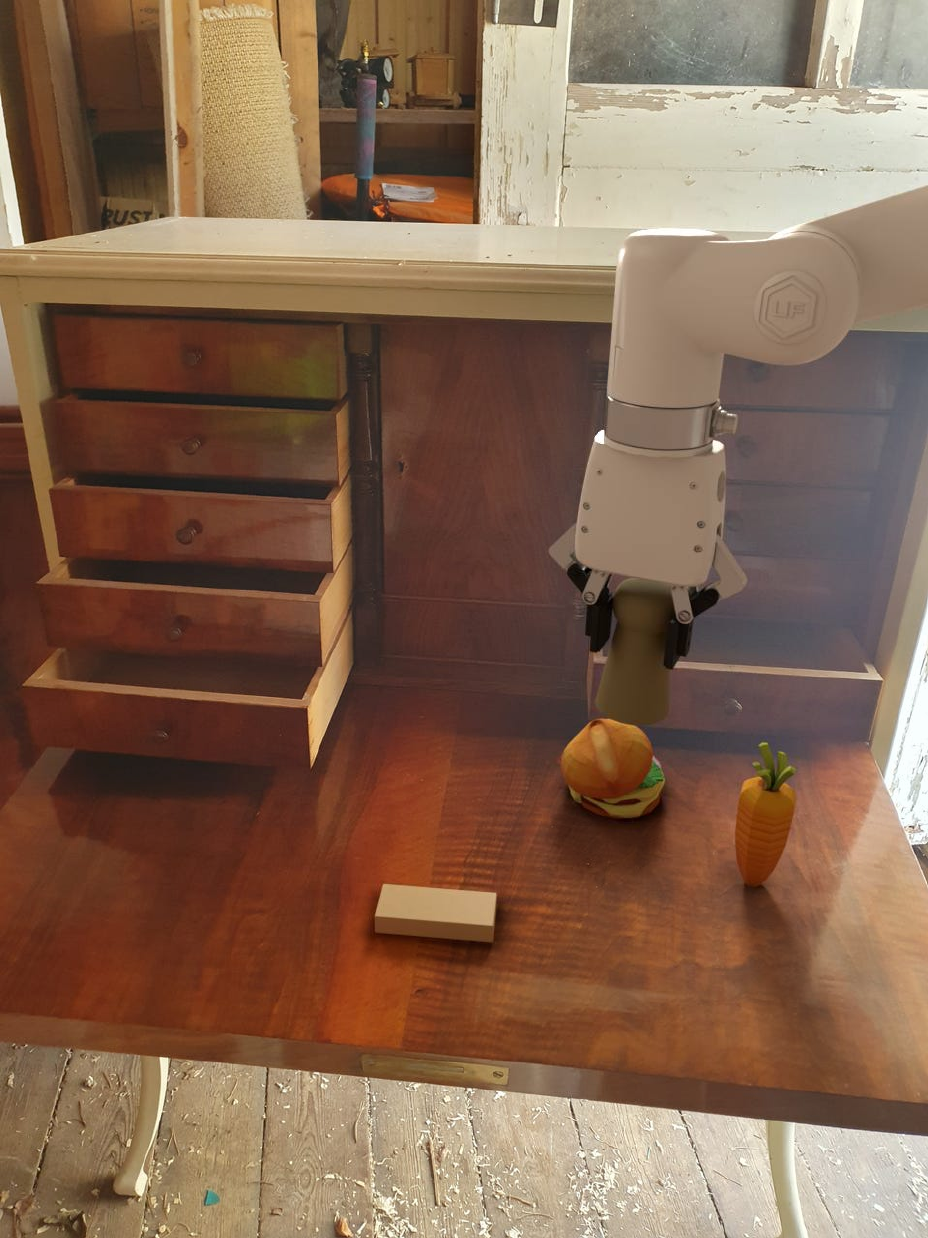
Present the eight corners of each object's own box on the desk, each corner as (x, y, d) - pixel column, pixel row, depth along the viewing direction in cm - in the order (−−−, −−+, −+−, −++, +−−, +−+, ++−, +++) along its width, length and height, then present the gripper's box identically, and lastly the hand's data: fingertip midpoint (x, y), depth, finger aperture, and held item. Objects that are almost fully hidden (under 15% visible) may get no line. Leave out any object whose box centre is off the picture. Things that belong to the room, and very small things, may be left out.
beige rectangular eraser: (496, 914, 85) (496, 892, 83) (492, 948, 81) (493, 926, 80) (383, 905, 85) (383, 883, 84) (375, 938, 82) (374, 916, 81)
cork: (594, 721, 76) (609, 596, 71) (595, 682, 82) (609, 564, 77) (671, 729, 76) (692, 604, 71) (667, 689, 81) (685, 570, 76)
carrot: (786, 907, 86) (815, 767, 79) (731, 906, 86) (755, 767, 79) (770, 869, 90) (796, 734, 84) (717, 869, 90) (739, 734, 84)
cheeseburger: (689, 799, 99) (685, 728, 94) (617, 860, 95) (609, 790, 89) (617, 754, 106) (609, 685, 101) (547, 809, 102) (535, 740, 96)
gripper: (794, 424, 66) (756, 656, 74) (561, 397, 73) (549, 612, 81) (777, 452, 60) (737, 701, 68) (524, 419, 67) (515, 650, 75)
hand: (635, 651), depth 75 cm, fingers closed on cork, 5 cm apart
